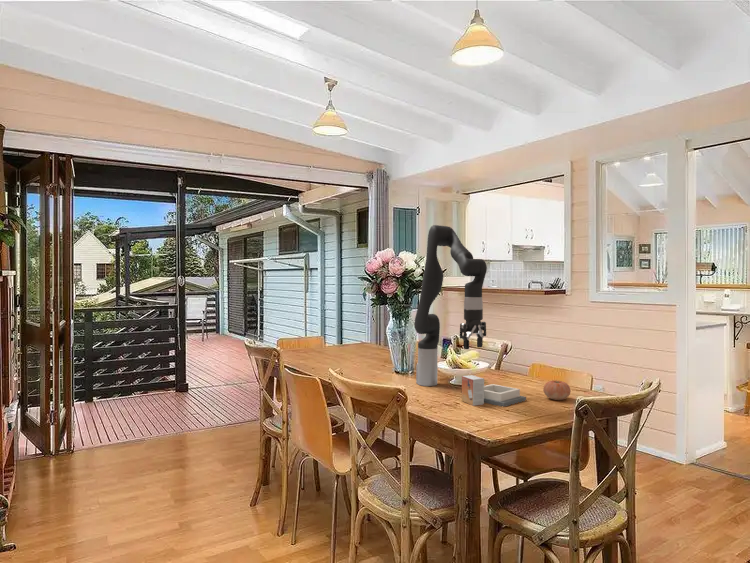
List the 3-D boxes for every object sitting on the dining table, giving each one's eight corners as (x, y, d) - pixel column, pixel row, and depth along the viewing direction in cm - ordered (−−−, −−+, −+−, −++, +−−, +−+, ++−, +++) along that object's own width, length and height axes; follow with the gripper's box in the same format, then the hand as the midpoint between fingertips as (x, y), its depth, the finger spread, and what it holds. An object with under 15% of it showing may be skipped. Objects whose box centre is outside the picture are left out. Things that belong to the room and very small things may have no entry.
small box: (461, 401, 214) (461, 375, 214) (472, 400, 217) (472, 374, 216) (472, 405, 207) (472, 379, 207) (484, 404, 209) (484, 378, 209)
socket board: (467, 398, 219) (467, 387, 219) (490, 392, 230) (490, 382, 229) (503, 406, 205) (503, 395, 205) (526, 400, 216) (526, 389, 216)
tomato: (548, 402, 213) (548, 382, 213) (539, 396, 224) (540, 377, 224) (574, 402, 213) (574, 383, 213) (565, 396, 224) (565, 377, 224)
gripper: (476, 307, 219) (476, 345, 219) (454, 308, 209) (454, 348, 210) (491, 308, 213) (491, 347, 213) (469, 309, 204) (469, 350, 204)
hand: (473, 348), depth 211 cm, fingers open, 8 cm apart
